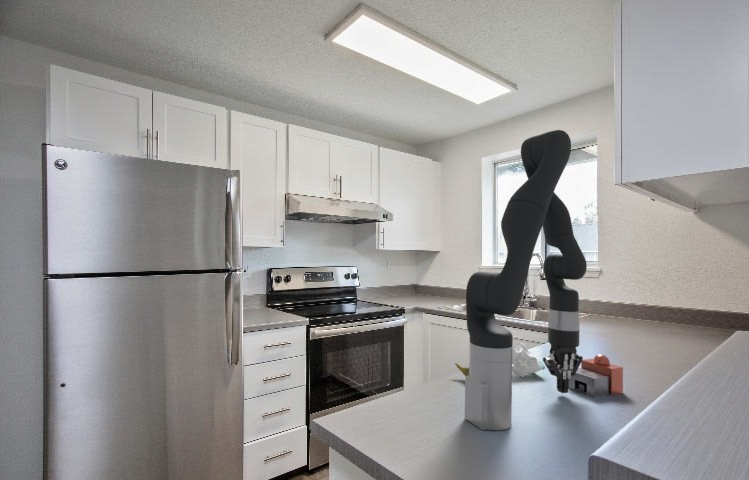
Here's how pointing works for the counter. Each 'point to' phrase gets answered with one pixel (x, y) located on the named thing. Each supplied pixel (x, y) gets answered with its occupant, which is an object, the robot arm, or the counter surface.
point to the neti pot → (463, 369)
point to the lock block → (590, 382)
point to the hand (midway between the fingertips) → (562, 391)
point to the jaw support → (524, 361)
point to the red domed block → (604, 373)
